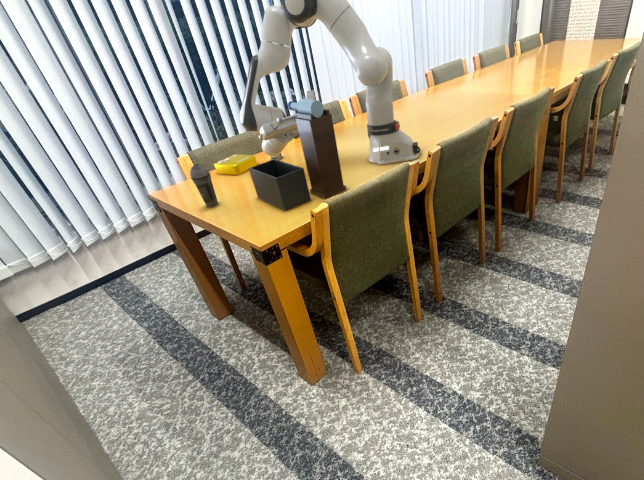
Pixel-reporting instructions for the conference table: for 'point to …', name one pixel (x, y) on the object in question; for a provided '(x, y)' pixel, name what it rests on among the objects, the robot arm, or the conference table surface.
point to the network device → (310, 95)
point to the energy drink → (276, 157)
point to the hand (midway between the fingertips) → (291, 115)
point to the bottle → (307, 107)
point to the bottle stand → (320, 153)
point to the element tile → (235, 164)
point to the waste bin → (280, 184)
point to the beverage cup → (203, 184)
